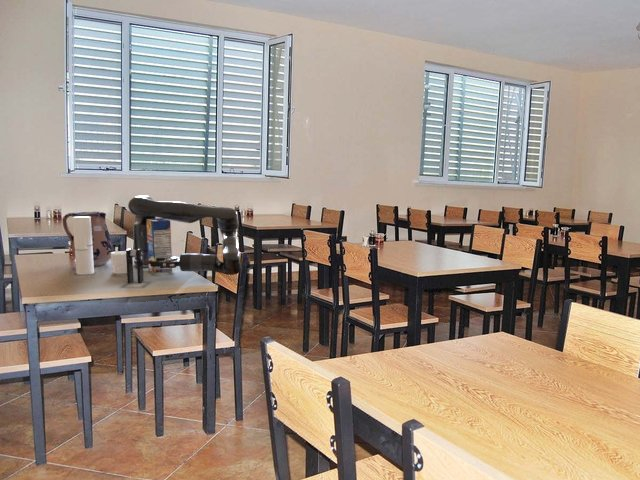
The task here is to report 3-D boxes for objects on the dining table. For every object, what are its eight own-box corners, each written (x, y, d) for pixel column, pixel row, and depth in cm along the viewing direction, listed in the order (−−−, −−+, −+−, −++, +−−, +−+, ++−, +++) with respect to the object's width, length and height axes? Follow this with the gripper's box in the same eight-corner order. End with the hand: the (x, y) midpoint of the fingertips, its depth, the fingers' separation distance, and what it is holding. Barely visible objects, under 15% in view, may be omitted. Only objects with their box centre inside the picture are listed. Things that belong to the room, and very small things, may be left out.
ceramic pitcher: (112, 267, 303) (109, 214, 299) (62, 269, 297) (58, 214, 292) (115, 261, 320) (112, 210, 315) (68, 263, 313) (64, 211, 309)
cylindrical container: (97, 272, 289) (94, 216, 285) (83, 275, 283) (79, 218, 279) (87, 271, 293) (83, 215, 289) (72, 273, 287) (68, 217, 282)
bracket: (129, 282, 269) (127, 247, 267) (149, 282, 270) (147, 247, 268) (121, 287, 260) (119, 251, 257) (142, 287, 260) (140, 251, 258)
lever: (134, 265, 274) (135, 259, 275) (151, 265, 275) (152, 259, 275) (123, 255, 261) (124, 249, 261) (141, 255, 261) (142, 249, 262)
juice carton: (148, 271, 295) (146, 218, 291) (165, 270, 299) (163, 218, 295) (155, 275, 286) (152, 221, 281) (172, 274, 290) (170, 220, 286)
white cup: (134, 273, 289) (133, 251, 287) (125, 277, 281) (124, 254, 279) (117, 273, 290) (116, 251, 288) (108, 276, 282) (106, 253, 280)
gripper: (188, 274, 269) (148, 273, 268) (196, 268, 283) (158, 268, 282) (188, 256, 268) (147, 256, 267) (196, 251, 282) (158, 250, 281)
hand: (153, 262), depth 274 cm, fingers open, 8 cm apart
